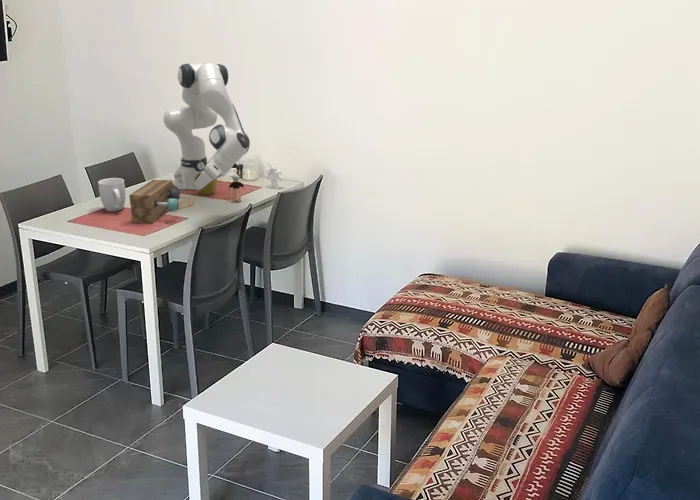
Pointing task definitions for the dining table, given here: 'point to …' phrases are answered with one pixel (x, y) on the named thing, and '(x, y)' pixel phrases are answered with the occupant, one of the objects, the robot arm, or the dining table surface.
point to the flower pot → (207, 186)
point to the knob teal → (170, 204)
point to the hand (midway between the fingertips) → (197, 188)
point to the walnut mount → (150, 201)
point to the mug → (112, 193)
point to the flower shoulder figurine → (273, 175)
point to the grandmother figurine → (236, 188)
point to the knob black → (174, 194)
